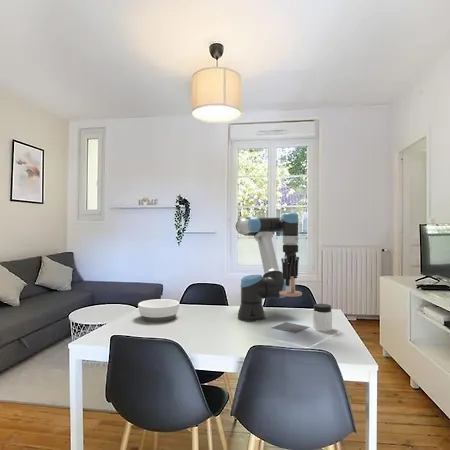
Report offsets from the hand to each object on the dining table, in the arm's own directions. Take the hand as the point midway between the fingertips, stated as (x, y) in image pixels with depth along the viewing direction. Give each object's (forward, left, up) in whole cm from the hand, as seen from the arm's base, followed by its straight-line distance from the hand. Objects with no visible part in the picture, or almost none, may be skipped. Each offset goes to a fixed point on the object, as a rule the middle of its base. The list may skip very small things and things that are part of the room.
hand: (290, 291), depth 178 cm
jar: (+13, +8, -18) cm, 24 cm away
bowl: (-66, -29, -18) cm, 74 cm away
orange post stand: (0, 0, -1) cm, 1 cm away
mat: (0, 0, -18) cm, 18 cm away
